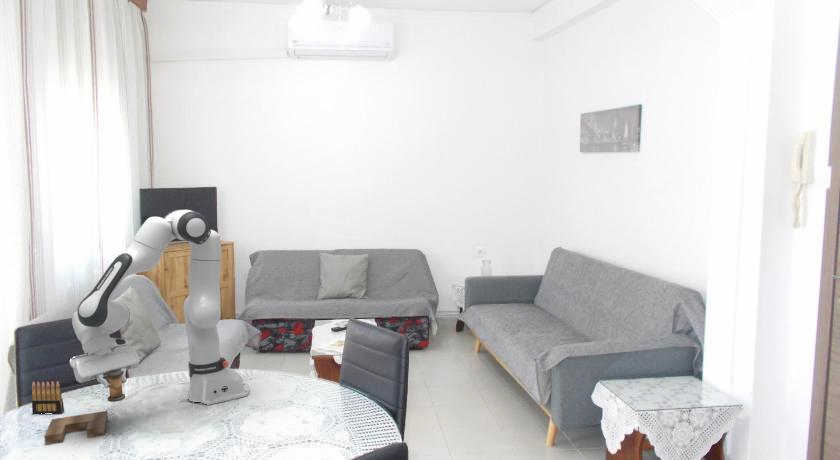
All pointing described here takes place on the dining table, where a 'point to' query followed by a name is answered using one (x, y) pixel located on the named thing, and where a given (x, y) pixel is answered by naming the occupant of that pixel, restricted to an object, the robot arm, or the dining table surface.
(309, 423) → the dining table surface
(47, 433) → the notched board
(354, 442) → the dining table surface
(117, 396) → the bobbin
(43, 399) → the ammunition clip
